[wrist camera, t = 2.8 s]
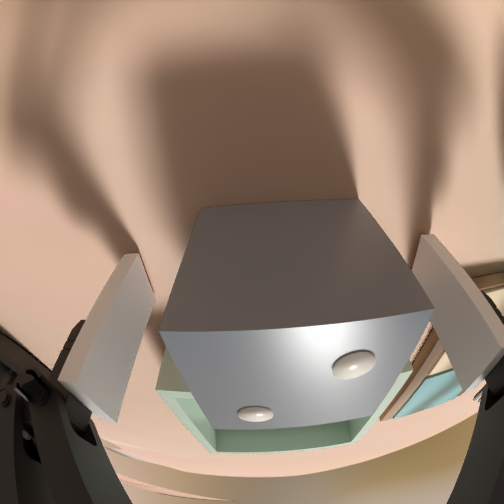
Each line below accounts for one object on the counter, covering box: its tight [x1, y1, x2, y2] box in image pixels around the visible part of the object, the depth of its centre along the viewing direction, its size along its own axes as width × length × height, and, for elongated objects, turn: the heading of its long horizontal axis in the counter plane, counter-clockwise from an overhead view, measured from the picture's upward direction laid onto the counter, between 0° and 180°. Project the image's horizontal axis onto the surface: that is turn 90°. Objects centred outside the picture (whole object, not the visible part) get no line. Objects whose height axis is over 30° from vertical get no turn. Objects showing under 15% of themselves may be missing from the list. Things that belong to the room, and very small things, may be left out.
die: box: [159, 199, 435, 430], centre depth 9 cm, size 6×6×6 cm
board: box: [379, 272, 504, 422], centre depth 16 cm, size 11×18×1 cm, turn 5°
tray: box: [155, 347, 413, 454], centre depth 17 cm, size 14×14×3 cm
